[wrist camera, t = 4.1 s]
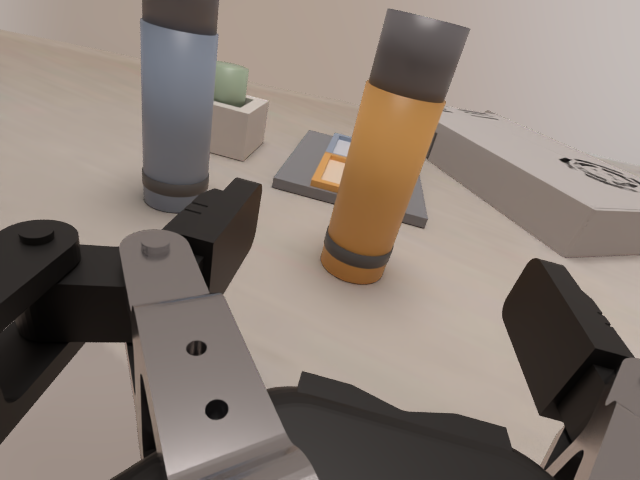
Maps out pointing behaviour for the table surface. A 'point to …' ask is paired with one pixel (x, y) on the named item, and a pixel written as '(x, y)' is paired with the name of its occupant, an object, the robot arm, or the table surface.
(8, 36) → the table surface
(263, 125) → the button housing
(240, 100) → the button
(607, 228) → the power supply unit
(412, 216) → the picture board
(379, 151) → the orange marker
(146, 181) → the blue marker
